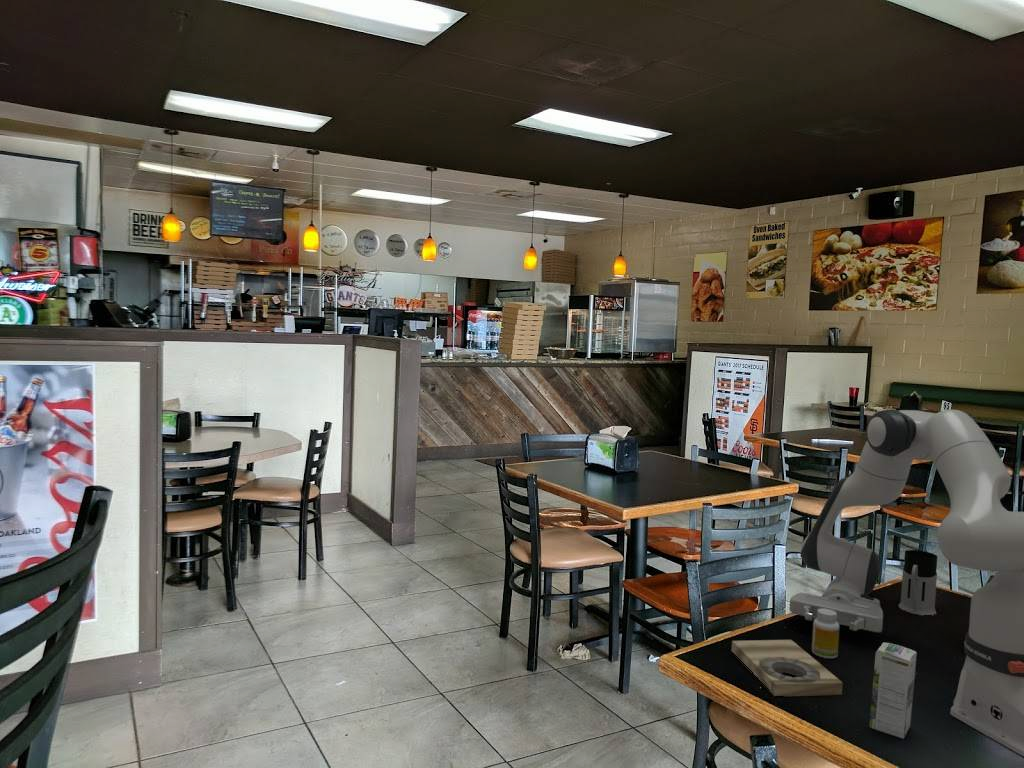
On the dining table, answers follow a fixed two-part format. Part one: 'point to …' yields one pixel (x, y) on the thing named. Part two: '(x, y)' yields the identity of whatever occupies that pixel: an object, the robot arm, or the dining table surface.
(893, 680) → the syrup box
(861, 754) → the dining table surface
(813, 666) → the plate
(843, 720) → the dining table surface
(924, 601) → the glass holder
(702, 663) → the dining table surface
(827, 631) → the supplement bottle
